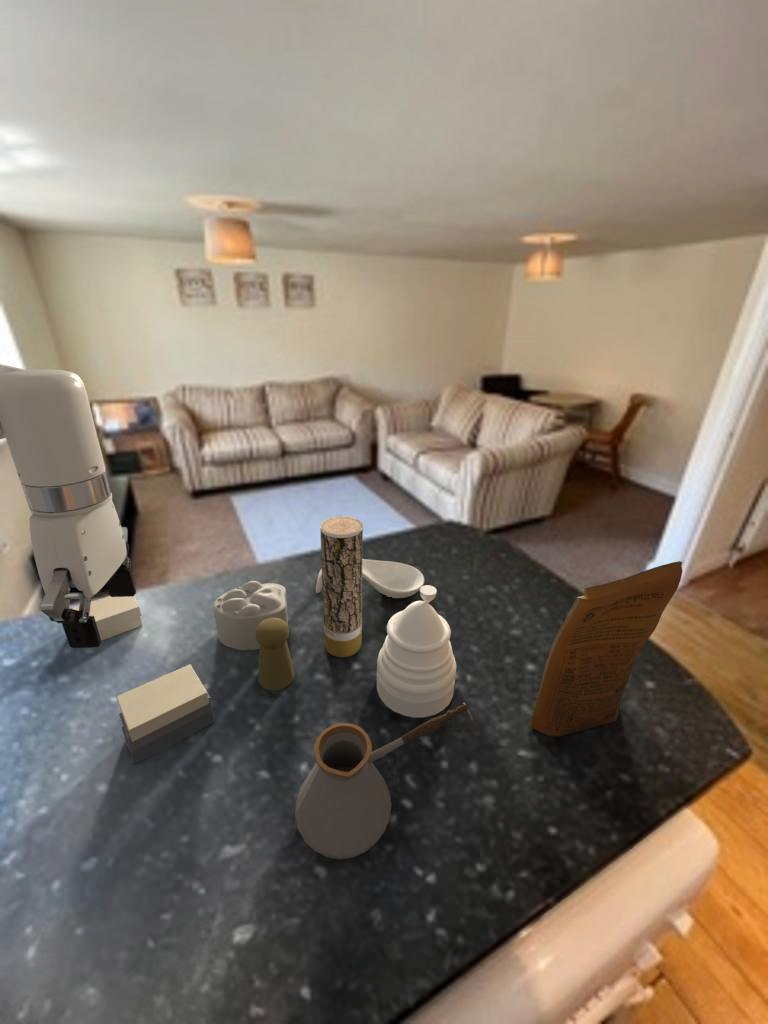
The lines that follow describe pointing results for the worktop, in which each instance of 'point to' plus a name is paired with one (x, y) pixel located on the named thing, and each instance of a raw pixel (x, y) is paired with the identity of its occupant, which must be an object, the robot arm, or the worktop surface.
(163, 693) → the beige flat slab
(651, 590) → the pancake mix bag
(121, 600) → the tan rectangular block
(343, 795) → the coffee pot
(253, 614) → the lumpy-topped squat cylinder
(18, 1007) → the worktop surface
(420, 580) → the spoon rest
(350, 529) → the brown bark cylinder
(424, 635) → the honey pot
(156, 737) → the grey block
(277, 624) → the olive peg figurine
